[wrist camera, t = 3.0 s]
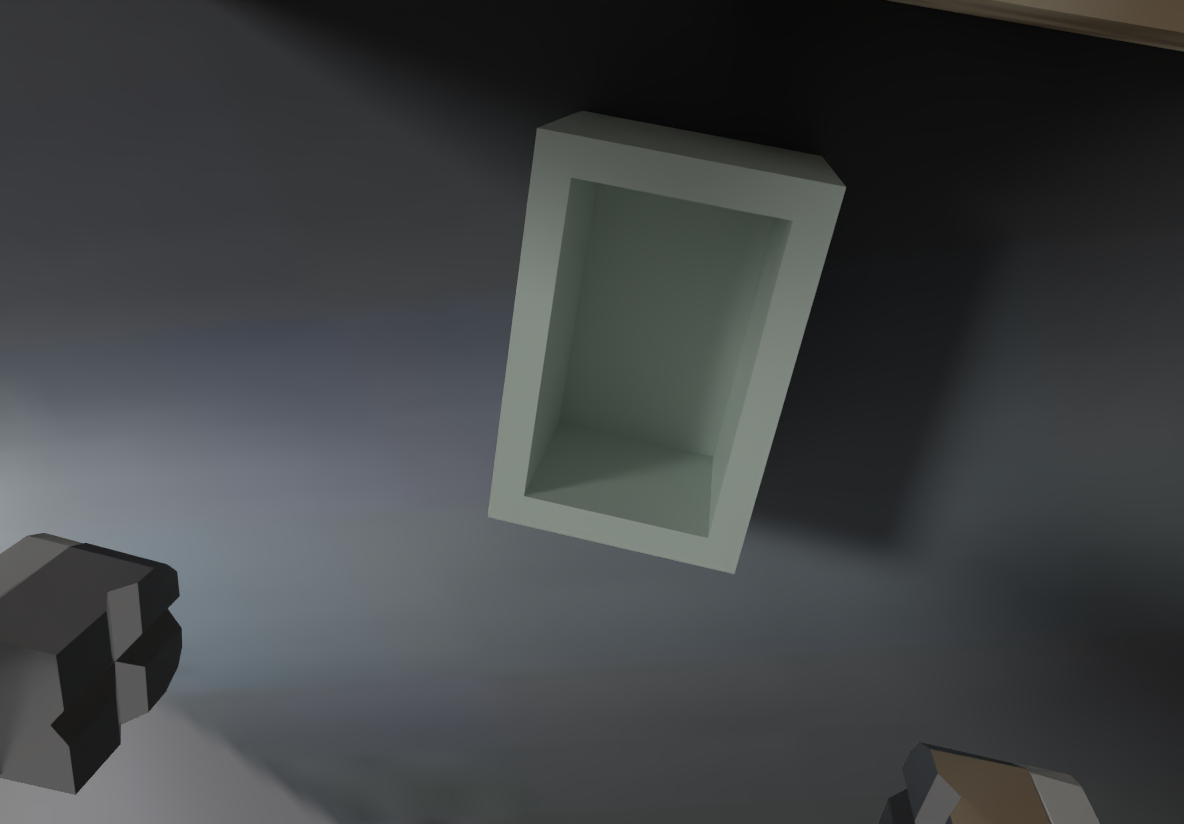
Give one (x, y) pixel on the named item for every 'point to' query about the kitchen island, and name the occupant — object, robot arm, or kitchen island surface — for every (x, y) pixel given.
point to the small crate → (655, 332)
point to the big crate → (1084, 17)
